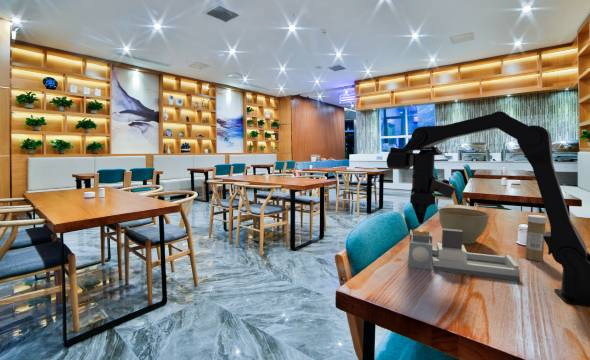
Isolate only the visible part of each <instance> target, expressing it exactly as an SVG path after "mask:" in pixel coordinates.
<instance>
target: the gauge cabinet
mask: <svg viewBox="0 0 590 360" xmlns="http://www.w3.org/2000/svg"><path fill="white" fill-rule="evenodd" d="M427 231H428V236H425V235H415V234H414V229H410V231H409V245H408V250H409V251H408V268H416V269H424V270H430V271H431V270H432V269H433V268H432V267H433V263H432V249H433V245H434V243H433V232H432V231H429V230H427Z"/></svg>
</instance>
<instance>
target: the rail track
mask: <svg viewBox="0 0 590 360" xmlns="http://www.w3.org/2000/svg"><path fill="white" fill-rule="evenodd" d="M432 267H433V268H432V269H433V271H438V272H439V271H441V272H446V273H455V274H460V275H461V274H464V275H469V276H477V277H486V278H491V279H492V278H493V279H500V280H509V281H516V282H517V281H518V282H520V280H521V277H520V268H519V267H520V266H519V264H518V263H517V262H516V261H515V260H514V259H513V257H511V255H509V254H504V255H495V254H483V253H474V252H468V251H467V260H466V263H463V262H454V261H446V260H438V259H437V248H432Z"/></svg>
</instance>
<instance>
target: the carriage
mask: <svg viewBox="0 0 590 360" xmlns="http://www.w3.org/2000/svg"><path fill="white" fill-rule="evenodd" d="M441 228H442V227H441ZM441 231H442V232H441V242H437V244H436V245H437V246H436V249H437V259H438V260H446V261H454V262H463V263H466V260H467V252H468V251H467V250H466V248H465V244H462V235H463V232H462V230H458V229H446V228H442V230H441Z"/></svg>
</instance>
